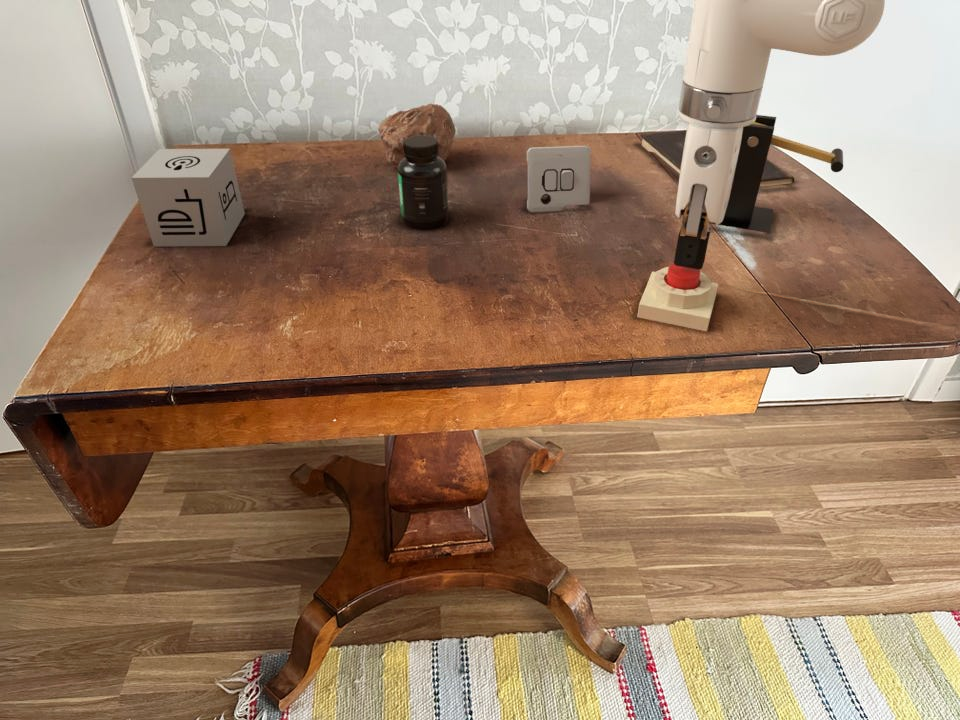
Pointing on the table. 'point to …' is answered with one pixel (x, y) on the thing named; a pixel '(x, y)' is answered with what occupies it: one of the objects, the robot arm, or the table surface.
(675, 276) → the button
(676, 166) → the hardcover book
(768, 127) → the bracket
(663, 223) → the table surface
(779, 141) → the lever
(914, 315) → the table surface
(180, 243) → the icon cube
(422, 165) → the supplement bottle
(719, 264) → the table surface
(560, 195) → the electrical switch
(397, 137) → the decorative rock
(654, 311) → the switch box
